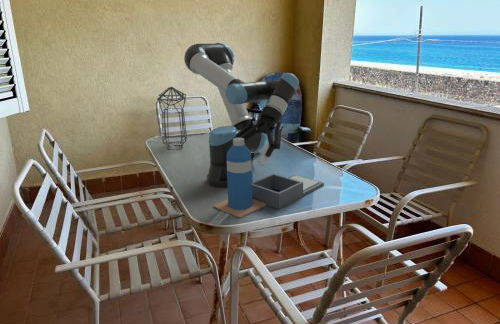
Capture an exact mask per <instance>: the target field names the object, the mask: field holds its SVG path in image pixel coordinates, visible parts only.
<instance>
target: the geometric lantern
mask: <svg viewBox="0 0 500 324" xmlns="http://www.w3.org/2000/svg"><path fill="white" fill-rule="evenodd" d="M168 92H169V93H168ZM166 93H168V94H166ZM170 94H171V95H170ZM158 96H159V97H157V98H156V100H157V102H158V104H159V107H160V110H161V116H162V118H161V119H162V120H161V121H162V122H161V123H162V135H161V136H162V141H161V142H162V144H163V145H165V146H166V147H167V149H168V148H170V149H171V146H169V144H170V145H176V147H181V148H182V147H183V146H184V145H185V143H187V141H188V140H187V138H188V135H187V127H186V126H187V125H186V120H185V110H184V107H185V104H186V99H187V94H186V93H184V92H182V91H180V90H179V89H176V88H175V87H173V86H169V87H168V88H166V89H165V90H164V91H162V92H161V93H160V94H158ZM163 97H164V99H163ZM174 97H175V99H174ZM182 101H183V106H182V105H181V104H180V102H182ZM174 102H175V103H174ZM171 103H172V104H171ZM161 104H162V105H163V108H164V109H162V105H161ZM164 104H165V105H167V107H165V105H164ZM177 104H178V105H179V106H180V108H179V107H176V105H177ZM170 106H173V107H174V108H173V110H176V114H178V116H179V117H178V118H179V128H180V129H179V131H180V135H177V136H175V135H174V136H171V138H180V140H179V141H176V142H173V141H170V136H169V132H167V131H169V107H170ZM179 110H180V111H179ZM166 123H167V125H166ZM183 138H184V139H183ZM176 143H179V144H176ZM180 144H181V145H180ZM183 148H184V147H183Z"/></svg>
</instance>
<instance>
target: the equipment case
mask: <svg viewBox="0 0 500 324" xmlns="http://www.w3.org/2000/svg"><path fill="white" fill-rule="evenodd" d="M323 186H325V182H323V181H319V180H316V179H312V178H308V177H305V176H301V175H297V174H294V175H291V176H289V177H286V176H284V175H283V176H282V175H280V174H275V173H271V174H268V175H266V176H263V177H261V178H259V179H256V180H254V181H252V199H254V200H257V201H260V202H263V203H265V204H267V205H266V206H269V207H272V208H275V209H277V210H280V209H282V208H284V207H286V206H287V205H289V204H292V203H293V202H295V201H297V200H299V199H301V198H303V197H304V196H307V195H308V194H310V193H312V192H314V191H317V190H318V189H320V188H322V187H323ZM273 189H275V190H277V191H275V190H273Z"/></svg>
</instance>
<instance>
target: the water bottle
mask: <svg viewBox="0 0 500 324" xmlns="http://www.w3.org/2000/svg"><path fill="white" fill-rule="evenodd" d="M252 177H253V176H252V154H251V152H250V151H249V149H248V148H247V147H246V145H245V144H244V138H234V139H233V145H232V147H231V148H230V149H229V151H228V152H227V184H228V187H227V199H228V207H230V208H232V209H234V210H245V209H247V208H250V207H252V182H253V180H252Z"/></svg>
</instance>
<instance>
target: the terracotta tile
mask: <svg viewBox="0 0 500 324" xmlns="http://www.w3.org/2000/svg"><path fill="white" fill-rule="evenodd" d="M213 206H214V207H216V208H215V209H217V208H218V210H219V209H221V210H220V211H222V210H223V211H222V212H224V211H225V212H224V213H226V212H227V214H229V213H230V214H229V215H231V214H232V215H231V216H233V215H234V216H233V217H236V216H237V217H236V218H238V217H239V218H238V219H242V218H244V217H246V216H249V215H250V214H253V213H254V212H256V211H258V210H260V209H262V208H264V207H266V206H268V205H267V204H265V203H263V202H260V201H257V200H254V199H252V207H250V208H247V209H245V210H234V209H232V208H230V207H228V198H227V199H224V200H222V201H219V202H218V203H215V204H213V205H212V207H213ZM214 207H213V208H214Z"/></svg>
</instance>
